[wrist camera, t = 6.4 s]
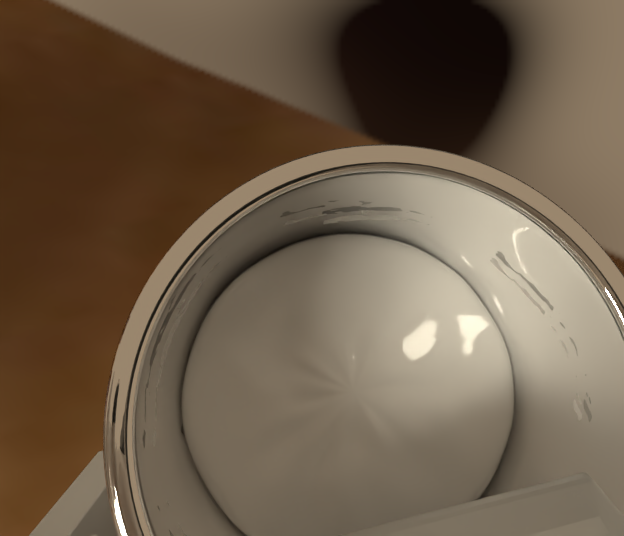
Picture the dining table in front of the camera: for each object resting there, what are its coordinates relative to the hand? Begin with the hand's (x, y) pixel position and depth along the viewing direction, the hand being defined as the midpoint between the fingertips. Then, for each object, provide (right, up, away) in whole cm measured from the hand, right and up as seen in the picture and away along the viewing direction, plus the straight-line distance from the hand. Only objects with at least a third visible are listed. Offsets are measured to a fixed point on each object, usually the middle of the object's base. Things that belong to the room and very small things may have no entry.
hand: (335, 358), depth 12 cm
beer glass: (0, -2, +9) cm, 9 cm away
